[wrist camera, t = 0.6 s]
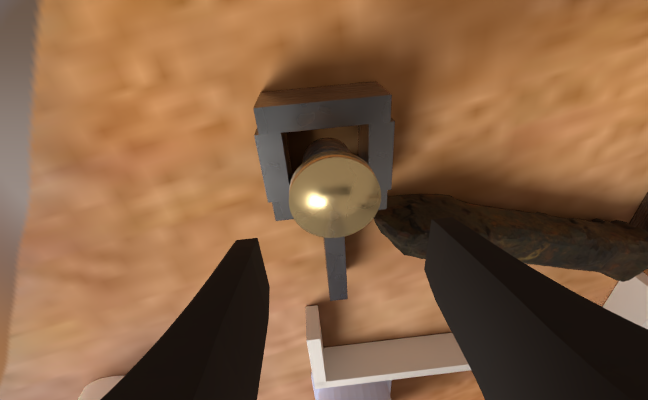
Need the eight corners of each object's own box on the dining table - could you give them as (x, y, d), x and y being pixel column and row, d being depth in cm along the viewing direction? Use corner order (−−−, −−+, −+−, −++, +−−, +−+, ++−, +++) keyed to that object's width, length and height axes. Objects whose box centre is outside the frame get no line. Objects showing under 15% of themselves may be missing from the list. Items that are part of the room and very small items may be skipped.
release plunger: (363, 188, 16) (380, 233, 13) (295, 195, 16) (295, 242, 13) (362, 121, 14) (382, 154, 11) (285, 129, 14) (282, 164, 11)
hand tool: (619, 212, 22) (689, 255, 18) (582, 252, 24) (638, 299, 20) (380, 159, 18) (403, 198, 14) (360, 212, 20) (375, 260, 16)
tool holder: (633, 239, 23) (675, 267, 21) (291, 278, 23) (290, 311, 20) (753, 45, 16) (839, 51, 14) (256, 92, 15) (248, 108, 13)
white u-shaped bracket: (602, 320, 29) (632, 350, 26) (313, 355, 28) (315, 389, 26) (637, 268, 25) (676, 297, 23) (305, 306, 24) (306, 340, 22)
